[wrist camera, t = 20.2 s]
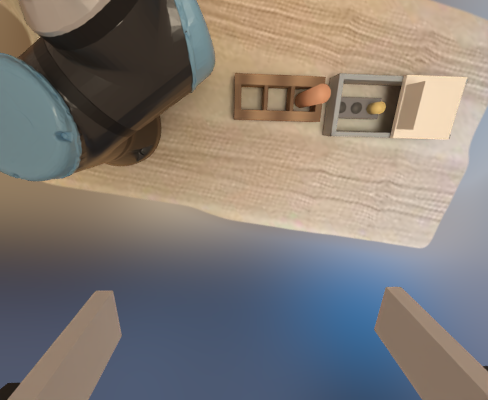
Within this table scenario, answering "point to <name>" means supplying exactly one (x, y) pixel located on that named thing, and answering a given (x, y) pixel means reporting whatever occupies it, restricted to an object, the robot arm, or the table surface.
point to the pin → (313, 96)
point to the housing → (356, 103)
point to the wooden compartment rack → (265, 83)
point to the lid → (427, 106)
